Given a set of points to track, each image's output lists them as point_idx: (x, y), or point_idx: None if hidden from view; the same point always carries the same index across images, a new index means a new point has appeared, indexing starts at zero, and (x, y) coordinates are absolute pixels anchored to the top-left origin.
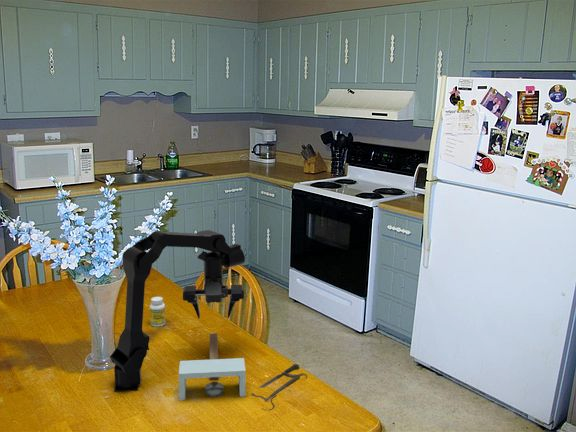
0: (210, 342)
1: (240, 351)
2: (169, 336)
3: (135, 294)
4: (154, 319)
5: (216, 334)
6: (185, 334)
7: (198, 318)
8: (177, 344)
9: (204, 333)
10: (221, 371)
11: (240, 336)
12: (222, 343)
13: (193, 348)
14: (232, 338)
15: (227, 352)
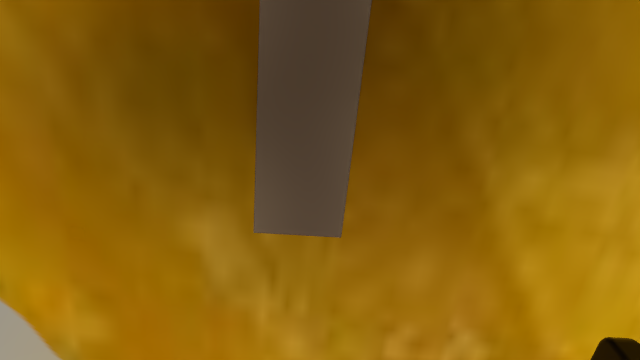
0: (357, 23)
1: (32, 22)
2: None
3: None
4: None
5: (264, 208)
6: (493, 349)
7: (634, 340)
8: (595, 229)
9: (352, 346)
10: None
11: (65, 276)
12: (217, 193)
13: (482, 149)
14: (131, 256)
15: (168, 24)
